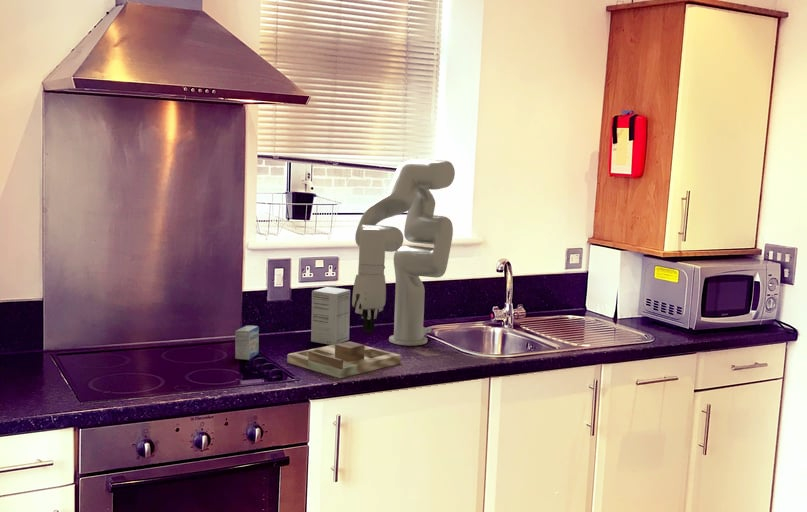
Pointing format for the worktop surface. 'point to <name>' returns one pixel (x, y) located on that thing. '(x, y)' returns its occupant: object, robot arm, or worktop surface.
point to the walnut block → (349, 351)
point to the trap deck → (342, 361)
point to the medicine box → (247, 342)
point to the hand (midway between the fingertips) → (368, 331)
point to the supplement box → (330, 315)
